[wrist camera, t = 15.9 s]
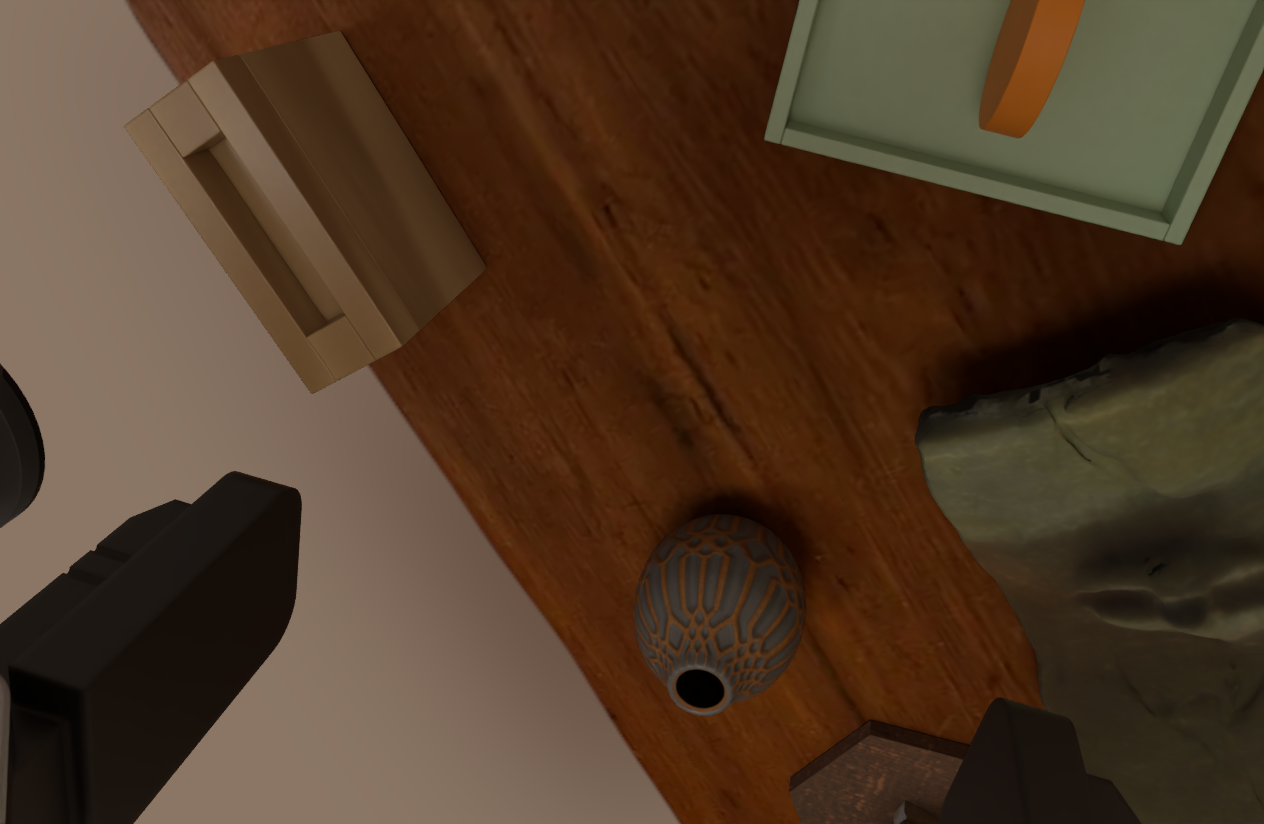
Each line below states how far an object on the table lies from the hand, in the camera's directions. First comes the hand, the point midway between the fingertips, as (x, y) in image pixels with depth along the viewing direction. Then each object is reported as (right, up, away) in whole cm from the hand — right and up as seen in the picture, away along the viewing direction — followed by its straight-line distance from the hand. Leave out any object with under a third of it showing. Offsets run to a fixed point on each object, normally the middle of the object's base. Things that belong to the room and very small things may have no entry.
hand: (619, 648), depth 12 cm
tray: (+13, +16, +22) cm, 30 cm away
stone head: (+25, -4, +29) cm, 39 cm away
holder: (-10, +12, +30) cm, 34 cm away
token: (+12, +14, +20) cm, 27 cm away
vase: (+5, -4, +34) cm, 35 cm away
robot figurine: (+13, -16, +38) cm, 43 cm away
